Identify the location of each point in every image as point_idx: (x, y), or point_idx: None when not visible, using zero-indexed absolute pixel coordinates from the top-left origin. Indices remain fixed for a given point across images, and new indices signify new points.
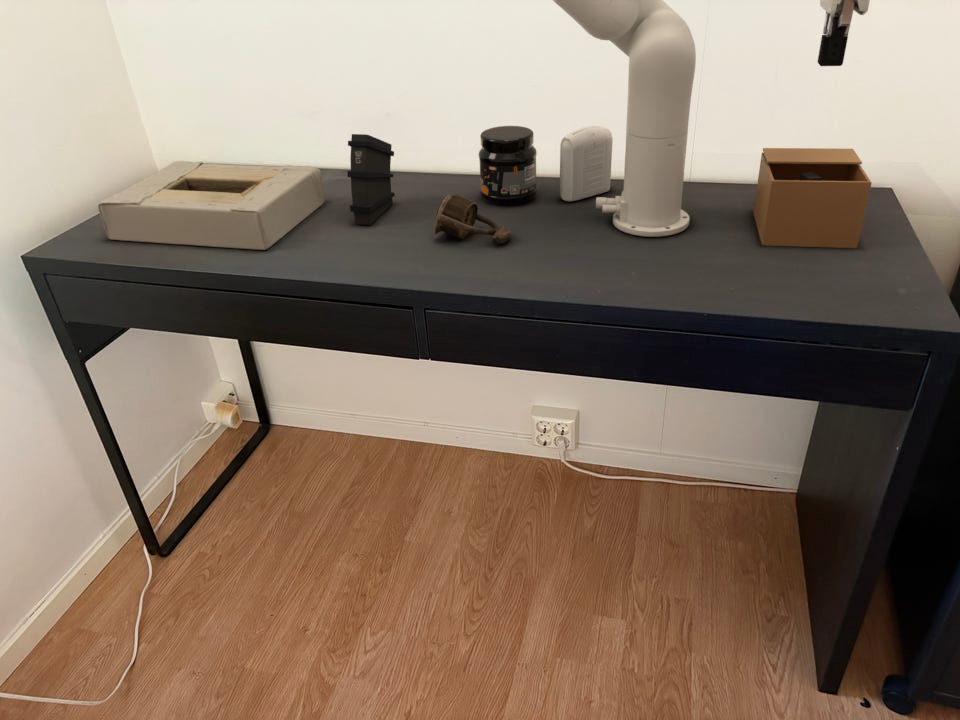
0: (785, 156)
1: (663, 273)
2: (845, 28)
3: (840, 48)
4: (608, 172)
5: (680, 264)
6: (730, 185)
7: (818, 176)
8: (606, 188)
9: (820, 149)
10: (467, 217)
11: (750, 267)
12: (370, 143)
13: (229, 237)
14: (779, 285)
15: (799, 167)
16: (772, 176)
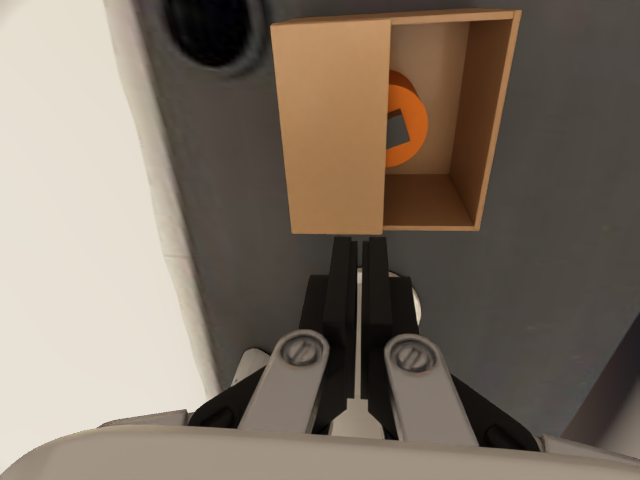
0: (349, 198)
1: (537, 299)
2: (497, 414)
3: (414, 309)
4: (254, 371)
5: (511, 281)
6: (187, 201)
7: (393, 119)
8: (262, 354)
9: (288, 115)
10: None
11: (535, 198)
12: None
13: None
14: (610, 164)
15: None
16: (451, 227)
